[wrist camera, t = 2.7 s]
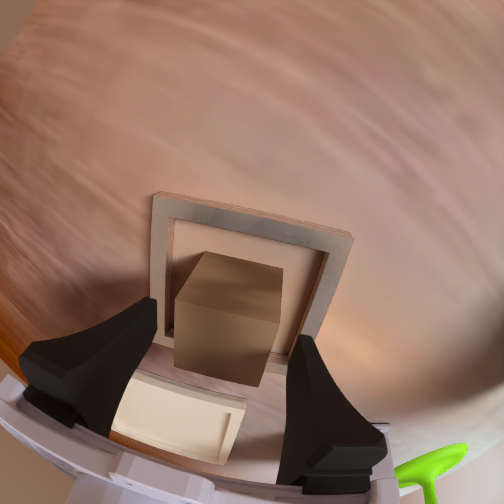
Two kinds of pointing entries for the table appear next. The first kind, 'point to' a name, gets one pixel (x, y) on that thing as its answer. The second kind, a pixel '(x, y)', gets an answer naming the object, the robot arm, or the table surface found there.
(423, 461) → the wineglass
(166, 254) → the frame
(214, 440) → the tray
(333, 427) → the robot arm
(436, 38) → the table surface
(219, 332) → the walnut block
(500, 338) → the table surface
